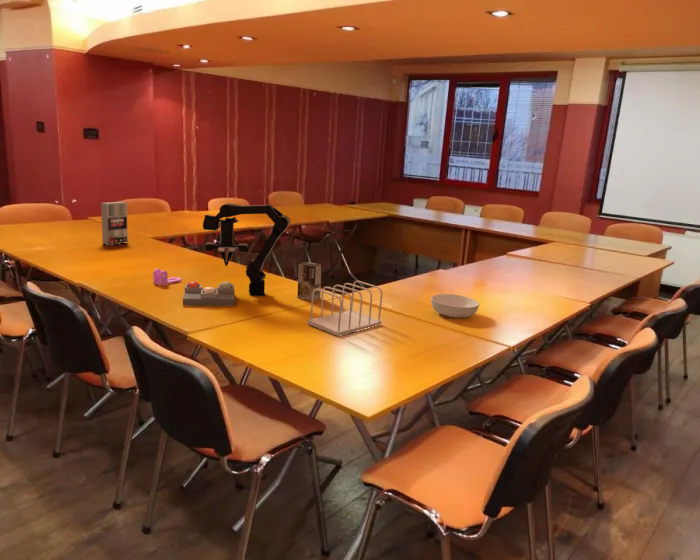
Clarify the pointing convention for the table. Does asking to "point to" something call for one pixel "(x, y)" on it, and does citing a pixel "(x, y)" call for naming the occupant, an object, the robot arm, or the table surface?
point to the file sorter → (344, 313)
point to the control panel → (209, 296)
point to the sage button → (225, 285)
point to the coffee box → (309, 280)
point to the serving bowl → (454, 305)
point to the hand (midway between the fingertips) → (226, 265)
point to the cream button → (209, 290)
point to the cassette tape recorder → (114, 222)
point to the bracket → (163, 278)
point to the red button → (193, 284)
